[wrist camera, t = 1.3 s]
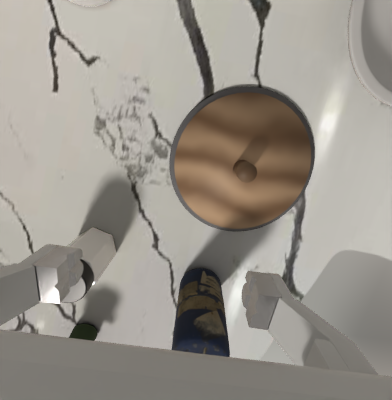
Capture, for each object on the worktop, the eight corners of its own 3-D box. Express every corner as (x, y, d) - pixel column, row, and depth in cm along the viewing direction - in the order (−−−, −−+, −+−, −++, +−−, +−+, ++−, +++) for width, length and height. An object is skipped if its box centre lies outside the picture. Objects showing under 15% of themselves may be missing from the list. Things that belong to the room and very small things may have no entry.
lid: (181, 83, 32) (178, 74, 27) (328, 103, 33) (351, 99, 28) (169, 219, 41) (165, 231, 36) (287, 233, 41) (299, 247, 36)
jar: (100, 220, 41) (63, 254, 30) (124, 248, 44) (98, 289, 32) (70, 240, 43) (24, 279, 32) (95, 266, 45) (60, 311, 34)
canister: (228, 275, 46) (245, 361, 29) (207, 302, 48) (212, 395, 31) (192, 258, 44) (187, 338, 27) (173, 287, 47) (159, 375, 30)
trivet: (176, 76, 32) (176, 75, 32) (334, 98, 33) (336, 98, 33) (164, 222, 41) (164, 223, 41) (289, 237, 42) (290, 238, 42)
